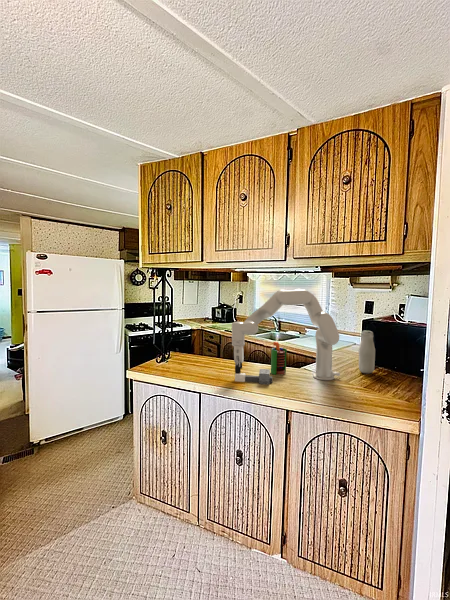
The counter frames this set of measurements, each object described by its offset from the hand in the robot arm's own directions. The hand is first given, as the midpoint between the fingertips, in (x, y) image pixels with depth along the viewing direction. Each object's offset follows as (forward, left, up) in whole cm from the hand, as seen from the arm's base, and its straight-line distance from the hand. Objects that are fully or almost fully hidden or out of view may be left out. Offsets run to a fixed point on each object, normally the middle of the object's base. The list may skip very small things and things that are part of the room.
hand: (238, 371), depth 199 cm
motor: (-23, -20, -6) cm, 31 cm away
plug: (-9, 0, -6) cm, 11 cm away
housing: (-15, 0, -6) cm, 16 cm away
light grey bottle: (-80, -30, -6) cm, 86 cm away
